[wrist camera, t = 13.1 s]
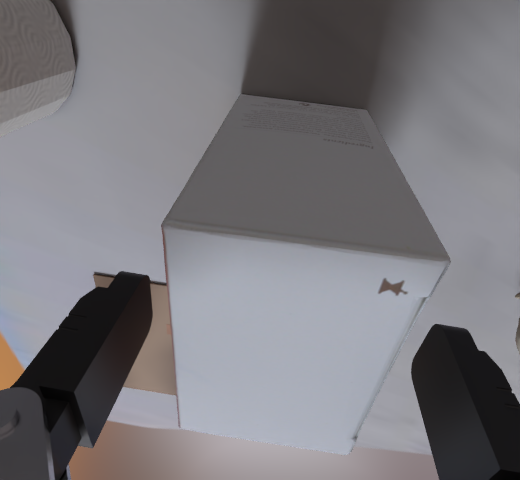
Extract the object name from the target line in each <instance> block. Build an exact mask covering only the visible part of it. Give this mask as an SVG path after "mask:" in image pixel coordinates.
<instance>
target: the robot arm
mask: <svg viewBox="0 0 520 480" xmlns="http://www.w3.org/2000/svg"><path fill="white" fill-rule="evenodd" d="M152 317H153V310H152V298H151V287H150V279H149V276H147V275H142V274H136V273H130V272H124V271H121V272H119V273H118V274H117V275H116V277H115V278H114V279H113V281H112V282H111V284H110V285H109V287H108V288H105V287H99V286H98V287H96V288H95V289H93V290H92V291H90V292H89V293H88V294H86V295H85V296H83V297H82V298H80V300H79V301H78V302H77V304H76V305H75V306H74V307H73V309H72V310H71V311H70V313H69V316H68V317H66V318H65V319H64V320H63V322H62V323H61V324H60V326H59V329H58V330H56V331H55V332H54V333H53V335H52V336H51V337H50V339H49V340H48V341H47V343H46V344H45V345H44V346H43V348H42V349H41V350H40V352H39V353H38V354H37V356H36V357H35V358H34V359H33V361H32V362H31V363H30V365H29V366H28V367H27V368H26V370H25V371H24V372H23V374H22V375H21V376H20V378H19V379H18V380H17V381H16V382H15V383H14V385H12V386H11V387H10V388H8V389H4V390H1V391H0V480H71V476H70V470H69V464H68V463H69V461H70V459H71V458H72V456H73V454H74V452H75V450H76V448H77V446H83V447H88V448H93V447H94V445H95V443H96V441H97V439H98V437H99V435H100V433H101V430H102V428H103V426H104V424H105V422H106V420H107V418H108V416H109V414H110V412H111V410H112V408H113V406H114V404H115V402H116V400H117V397H118V395H119V393H120V391H121V389H122V387H123V385H124V383H125V381H126V379H127V377H128V375H129V373H130V371H131V369H132V366H133V364H134V362H135V360H136V358H137V356H138V354H139V352H140V350H141V348H142V346H143V344H144V342H145V340H146V338H147V335H148V333H149V331H150V327H151V323H152ZM411 374H412V381H413V385H414V388H415V392H416V396H417V399H418V403H419V407H420V410H421V414H422V418H423V421H424V425H425V429H426V432H427V436H428V440H429V443H430V447H431V451H432V454H433V458H434V462H435V465H436V469H437V473H438V476H439V480H520V404H519V402H518V400H517V398H516V396H515V395H514V394H513V393H512V392H511V391H512V389H511V387H510V385H509V383H508V381H507V379H506V377H505V375H504V373H503V372H502V370H501V369H500V368H499V366H498V365H497V364H496V363H495V362H494V361H493V360H492V359H491V358H490V357H489V356H488V354H487V353H486V352H484V351H478V349H477V347H476V345H475V342H474V340H473V338H472V336H471V334H470V333H469V331H468V330H466V329H464V328H458V327H452V326H446V325H440V324H435V325H433V326H432V327H431V329H430V331H429V332H428V334H427V336H426V338H425V339H424V341H423V343H422V344H421V346H420V348H419V350H418V351H417V353H416V355H415V357H414V359H413V362H412V368H411Z"/></svg>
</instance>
